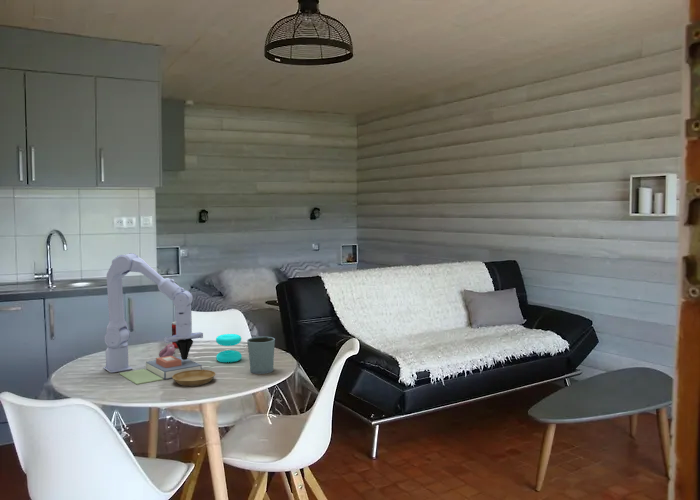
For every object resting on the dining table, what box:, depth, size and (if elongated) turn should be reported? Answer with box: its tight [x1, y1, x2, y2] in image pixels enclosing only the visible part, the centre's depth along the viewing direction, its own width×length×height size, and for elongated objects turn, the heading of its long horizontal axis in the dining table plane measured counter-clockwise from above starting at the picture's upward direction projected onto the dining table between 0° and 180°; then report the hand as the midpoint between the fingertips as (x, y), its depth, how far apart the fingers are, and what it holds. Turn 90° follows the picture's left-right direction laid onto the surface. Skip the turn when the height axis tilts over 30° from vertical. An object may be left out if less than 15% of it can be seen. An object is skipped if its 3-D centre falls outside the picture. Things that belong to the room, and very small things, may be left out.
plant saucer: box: [171, 369, 217, 387], centre depth 210 cm, size 15×15×3 cm
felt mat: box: [118, 368, 164, 386], centre depth 217 cm, size 18×9×1 cm, turn 39°
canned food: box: [171, 320, 179, 349], centre depth 267 cm, size 8×8×11 cm
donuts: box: [215, 333, 243, 364], centre depth 241 cm, size 10×10×10 cm
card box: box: [155, 355, 181, 368], centre depth 222 cm, size 9×6×2 cm, turn 39°
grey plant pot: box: [246, 336, 276, 375], centre depth 224 cm, size 10×10×12 cm
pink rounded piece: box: [158, 343, 176, 358], centre depth 245 cm, size 10×5×7 cm, turn 22°
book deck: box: [145, 355, 203, 380], centre depth 224 cm, size 18×14×3 cm
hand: (184, 359), depth 226 cm, fingers closed
